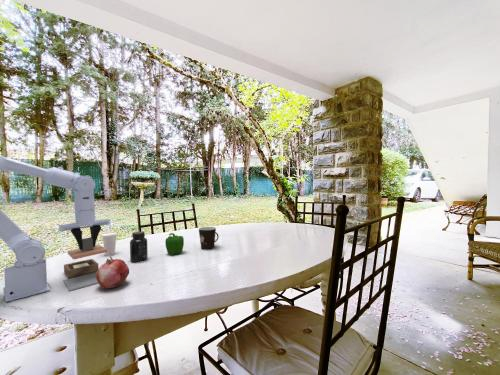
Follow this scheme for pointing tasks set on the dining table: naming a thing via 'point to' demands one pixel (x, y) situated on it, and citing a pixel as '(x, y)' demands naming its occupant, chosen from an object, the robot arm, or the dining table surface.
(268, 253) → the dining table surface
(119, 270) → the fruit
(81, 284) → the mat
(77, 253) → the lid
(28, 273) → the robot arm
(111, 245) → the smoothie
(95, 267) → the box
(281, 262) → the dining table surface
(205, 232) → the coffee mug
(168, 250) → the bell pepper
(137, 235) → the supplement bottle
